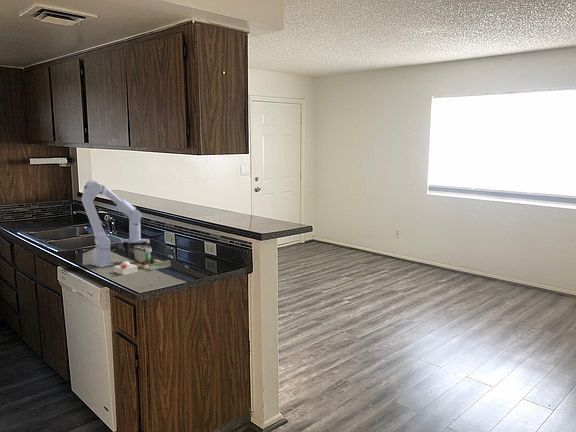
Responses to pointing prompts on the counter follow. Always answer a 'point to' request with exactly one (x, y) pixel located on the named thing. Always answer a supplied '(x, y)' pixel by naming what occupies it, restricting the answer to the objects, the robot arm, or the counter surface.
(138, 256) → the food container
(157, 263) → the bracket
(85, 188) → the robot arm
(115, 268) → the dome housing
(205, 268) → the counter surface
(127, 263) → the dome
